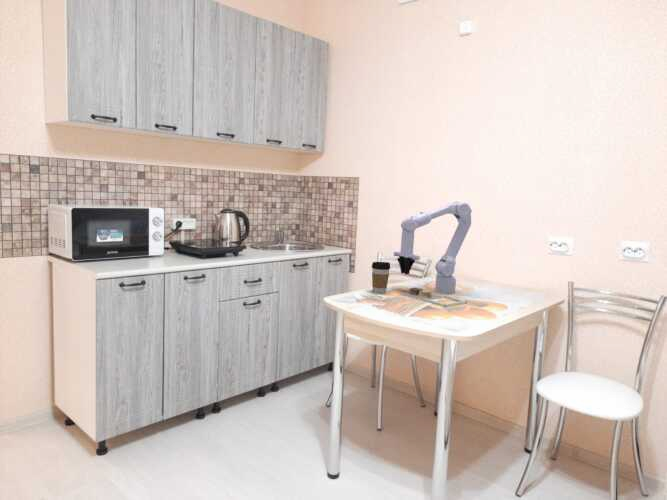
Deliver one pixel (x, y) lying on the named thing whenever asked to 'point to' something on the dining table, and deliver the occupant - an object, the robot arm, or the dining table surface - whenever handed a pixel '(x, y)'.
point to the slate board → (419, 296)
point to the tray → (446, 304)
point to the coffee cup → (380, 276)
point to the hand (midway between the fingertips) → (405, 273)
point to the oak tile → (425, 293)
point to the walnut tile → (415, 291)
